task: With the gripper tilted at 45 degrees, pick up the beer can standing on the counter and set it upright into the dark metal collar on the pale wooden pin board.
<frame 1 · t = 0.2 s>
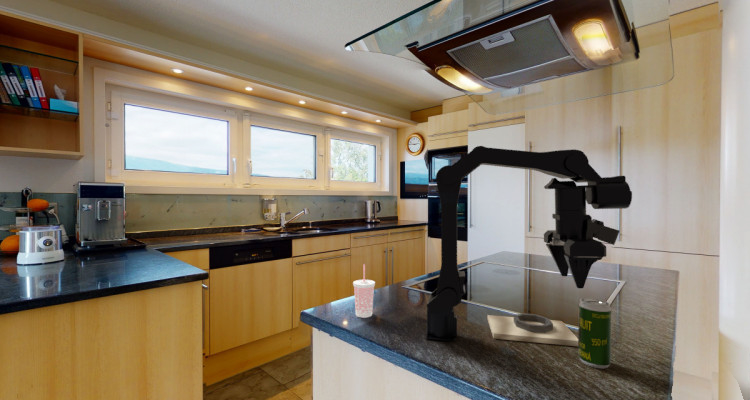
hand: (571, 281, 70), 14 cm above the counter, tool pointing down, fingers open, 9 cm apart
pin board: (529, 331, 79), on the counter
beverage cup: (363, 315, 90), on the counter
beer can: (594, 363, 65), on the counter
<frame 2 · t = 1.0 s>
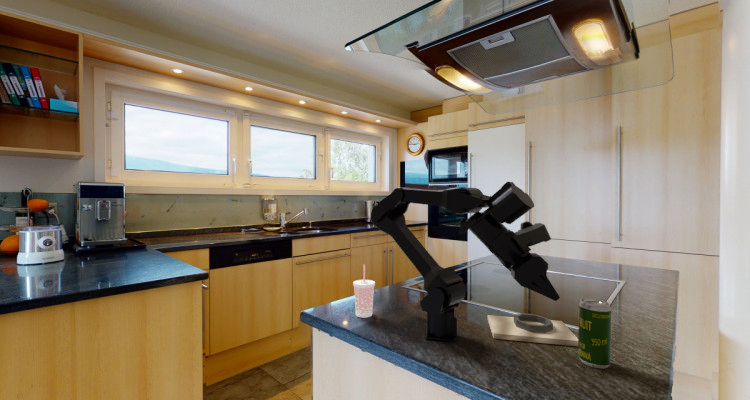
hand: (550, 292, 67), 13 cm above the counter, tool tilted 45°, fingers open, 9 cm apart
nothing on the counter moved.
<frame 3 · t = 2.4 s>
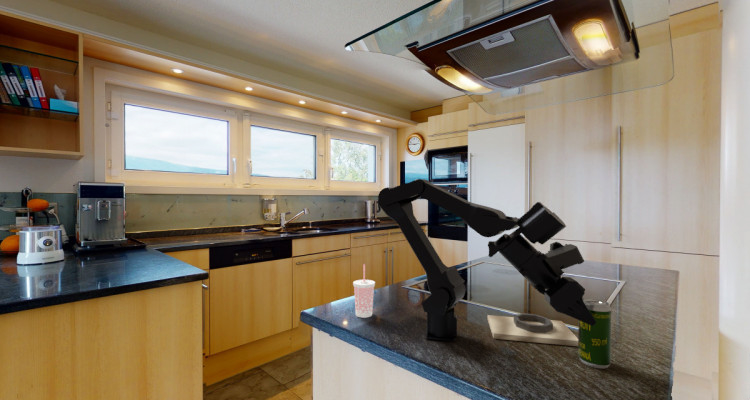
hand: (584, 315, 65), 9 cm above the counter, tool tilted 45°, fingers open, 9 cm apart
nothing on the counter moved.
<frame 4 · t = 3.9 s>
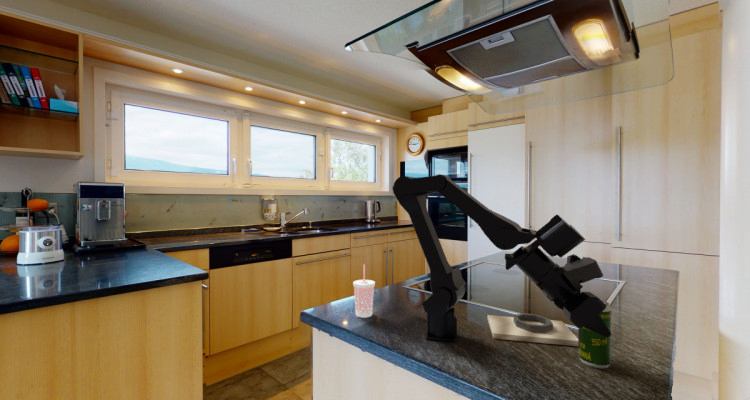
hand: (602, 329, 64), 7 cm above the counter, tool tilted 45°, fingers closed on beer can, 5 cm apart
beer can: (594, 363, 65), on the counter, touching gripper
everything else where it was.
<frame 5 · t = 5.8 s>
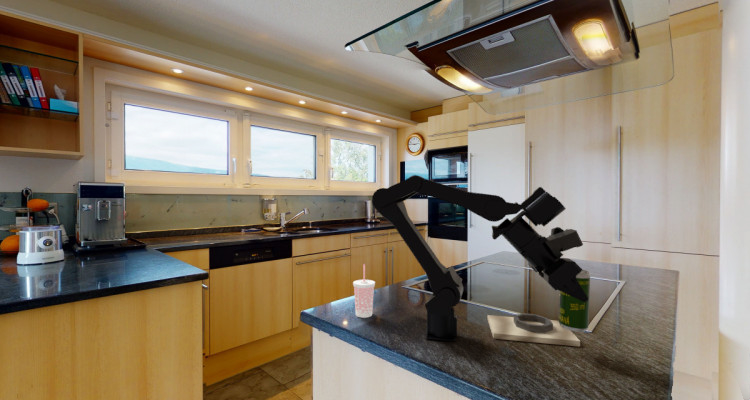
hand: (581, 296, 68), 12 cm above the counter, tool tilted 45°, fingers closed on beer can, 5 cm apart
beer can: (573, 328, 69), point 5 cm above the counter, touching gripper
everything else where it was.
when the fingers open (9 cm above the counter, at t = 7.9 s): beer can stays where it is, resting on pin board.
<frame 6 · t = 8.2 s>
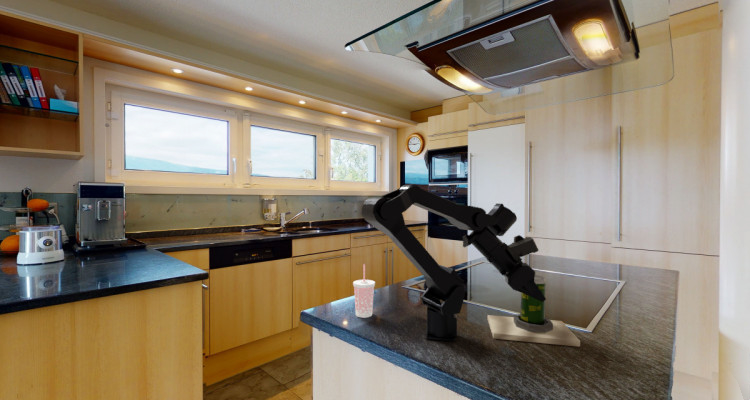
hand: (539, 294, 80), 9 cm above the counter, tool tilted 45°, fingers open, 9 cm apart
beer can: (532, 326, 80), point 1 cm above the counter, touching pin board
everything else where it was.
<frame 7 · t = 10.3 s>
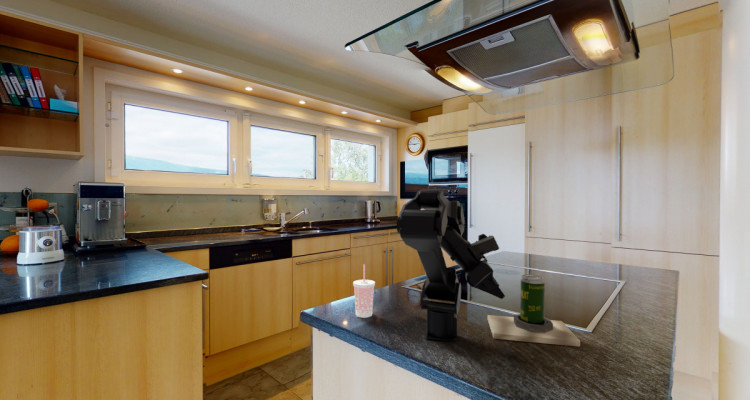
hand: (500, 292, 81), 9 cm above the counter, tool tilted 45°, fingers open, 9 cm apart
nothing on the counter moved.
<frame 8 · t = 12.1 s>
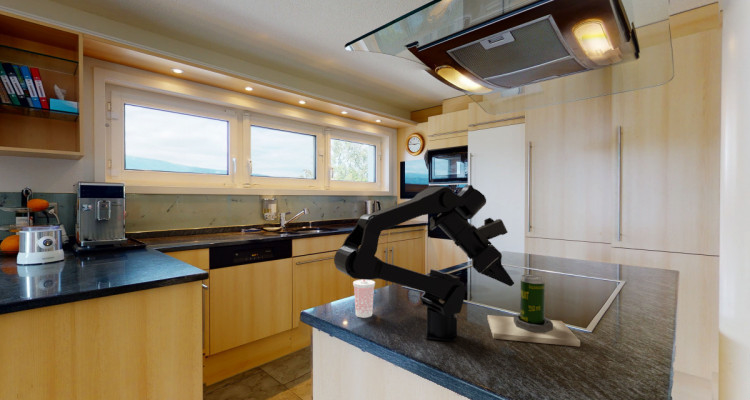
hand: (508, 279, 76), 14 cm above the counter, tool tilted 45°, fingers open, 9 cm apart
nothing on the counter moved.
at the end: beer can 0.1 cm from the target spot on the pin board, point 1.0 cm above the pin board's base; beer can tilted 0°; the gripper is holding nothing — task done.
